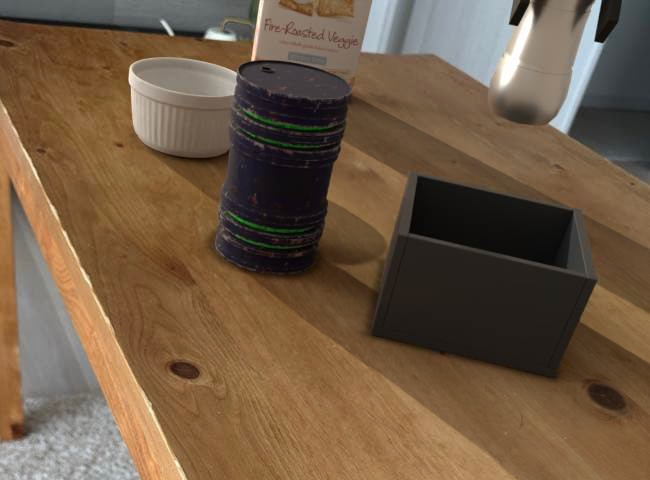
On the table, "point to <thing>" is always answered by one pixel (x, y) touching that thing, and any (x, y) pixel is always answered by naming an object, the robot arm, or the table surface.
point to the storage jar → (280, 164)
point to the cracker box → (313, 33)
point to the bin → (485, 275)
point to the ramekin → (182, 105)
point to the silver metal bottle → (539, 62)
